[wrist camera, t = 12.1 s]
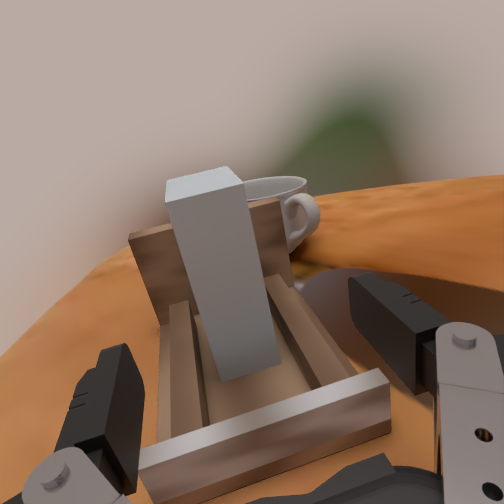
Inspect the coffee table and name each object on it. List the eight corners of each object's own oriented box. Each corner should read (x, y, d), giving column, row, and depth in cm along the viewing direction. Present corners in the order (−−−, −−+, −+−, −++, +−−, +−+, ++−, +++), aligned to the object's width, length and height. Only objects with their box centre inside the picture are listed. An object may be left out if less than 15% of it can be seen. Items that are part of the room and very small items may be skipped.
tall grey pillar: (259, 313, 27) (226, 165, 22) (281, 363, 22) (243, 183, 17) (211, 328, 27) (166, 180, 22) (221, 382, 22) (164, 202, 17)
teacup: (212, 251, 43) (196, 191, 40) (285, 224, 47) (275, 167, 44) (262, 296, 32) (244, 216, 28) (353, 256, 35) (348, 180, 32)
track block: (290, 287, 32) (274, 196, 28) (391, 431, 18) (386, 283, 14) (164, 325, 30) (129, 233, 27) (161, 517, 16) (85, 375, 12)
